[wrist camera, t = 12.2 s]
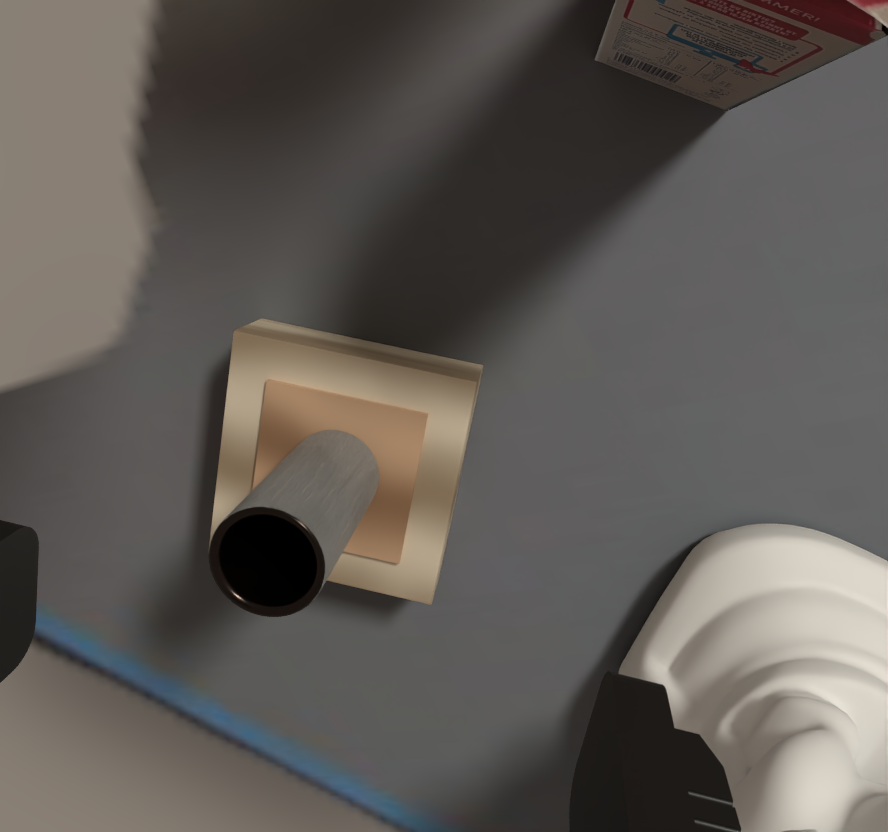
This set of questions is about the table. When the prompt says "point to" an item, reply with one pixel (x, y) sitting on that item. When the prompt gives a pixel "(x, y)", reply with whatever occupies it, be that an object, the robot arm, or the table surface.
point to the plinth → (366, 417)
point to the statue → (780, 673)
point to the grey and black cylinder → (294, 525)
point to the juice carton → (735, 42)
